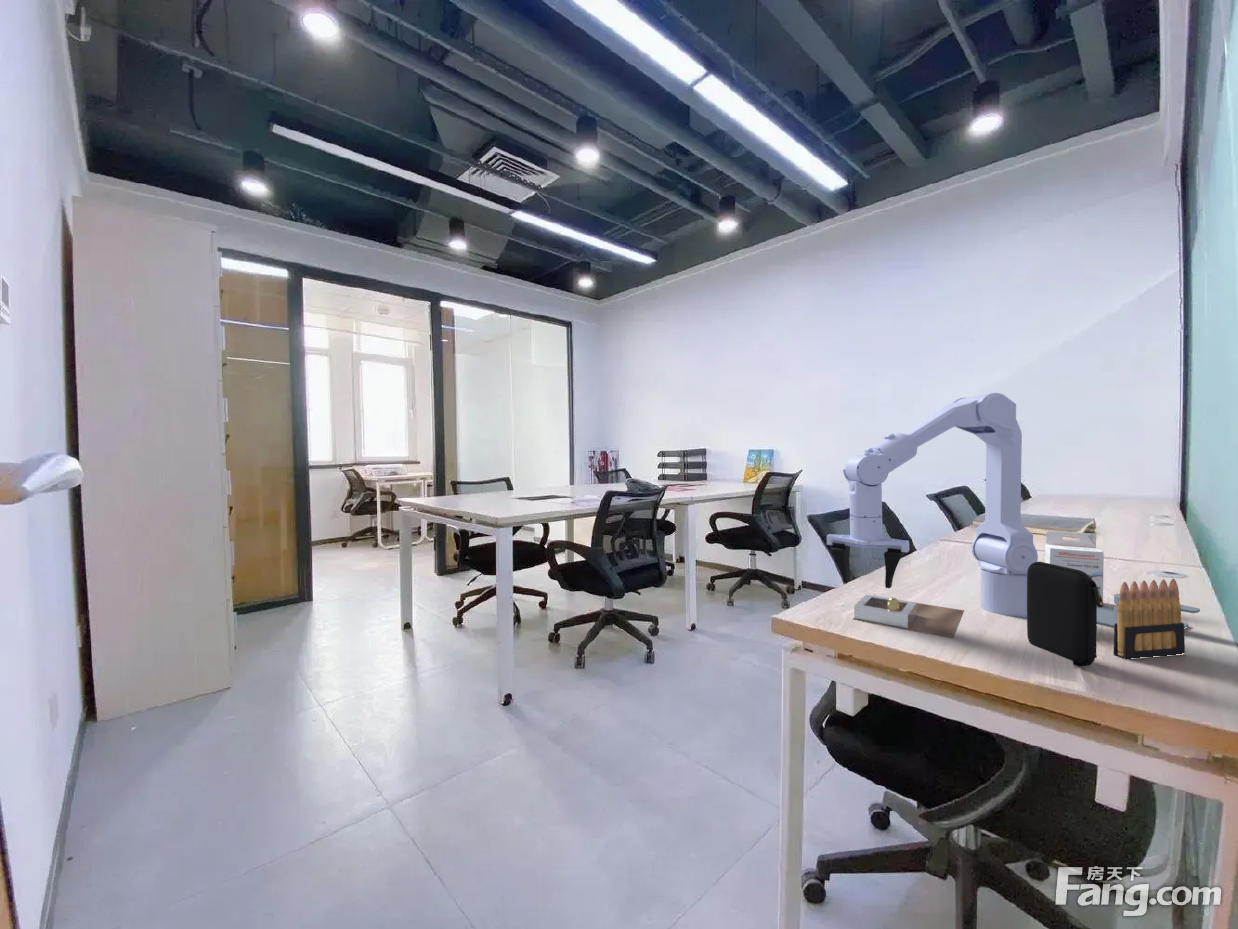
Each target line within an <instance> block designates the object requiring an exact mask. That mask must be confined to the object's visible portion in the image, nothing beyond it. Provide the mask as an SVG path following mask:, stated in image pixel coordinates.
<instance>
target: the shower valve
mask: <svg viewBox="0 0 1238 929" xmlns="http://www.w3.org/2000/svg"><path fill="white" fill-rule="evenodd" d="M1119 597H1120V593H1115V594H1113V603H1114V604H1115V606H1114V607H1111V606H1107V605H1103V607H1101V608H1099V607H1098V606H1097V625H1098V626H1103V627H1106V628H1112V629H1114V624H1115V623H1117V609H1118V605H1119ZM1180 605H1181V612H1183V613H1189V614H1198V613H1200V612H1201V608H1199V607H1196V606H1195V607H1194V606H1191V605H1184V604H1181V603H1180ZM1181 623H1184V628H1185V627H1188V626H1189V623H1187V622H1183V621H1181ZM1188 628H1189V627H1188Z"/></svg>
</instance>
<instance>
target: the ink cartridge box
mask: <svg viewBox="0 0 1238 929" xmlns="http://www.w3.org/2000/svg"><path fill="white" fill-rule="evenodd" d="M1045 537H1046V538H1045V540H1046V543H1045V544H1044V562H1045V563H1049V564H1054V565H1058V566H1063V567H1068V568H1072V569H1077V570H1081V571H1083V572H1085V573H1086V574H1088V575H1089V576H1090V577H1091V578H1092V580H1093V581H1094V582H1095V583H1096V586H1097V587H1098V588H1099V591H1100V595H1101V597H1102V600H1103V601H1104V563H1105V562H1104V559H1105V558H1104V556H1105V555H1104V551H1103V550H1101V549H1100V548H1098V547H1097V546H1096V545H1097V534H1096V533H1093V532H1091V533H1089V532H1074V531H1057V530H1056V531H1055V530H1054V531H1053V530H1047V531H1046V536H1045ZM1069 537H1073V538H1074V540H1072V539H1063V538H1069ZM1075 538H1078V539H1079V540H1075Z"/></svg>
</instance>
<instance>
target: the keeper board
mask: <svg viewBox="0 0 1238 929" xmlns="http://www.w3.org/2000/svg"><path fill="white" fill-rule="evenodd" d="M916 603H917V616H916V617H915V619H914V620H913V622H912V623H911V625H910V626H909V628H908V629H906V628H901V627H896V626H891V625H885V624H880V623H875V622H870V621H864V620H859V619H854V617H853V618H852V620H854V621H859V622H860V621H861V622H864V623H870V624H874V625H879V626H885V627H890V628H896V629H900V630H905V631H910V632H911V631H912V632H916V633H922V634H926V635H933V636H938V637H943V638H947V639H948V638H949V639H954V638H955V635H956V632H957V629H958V626H959V624H960V621H961V619H962V616H963V614H964V612H965V610H963V609H956V608H951V607H944V606H939V605H933V604H928V603H927V604H926V603H920V602H916Z"/></svg>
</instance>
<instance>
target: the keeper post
mask: <svg viewBox="0 0 1238 929" xmlns="http://www.w3.org/2000/svg"><path fill="white" fill-rule="evenodd" d="M888 598H889V599H888V601H887V609H888V610H893V611H899V601H898V600H899V599H898V598H896V597H888ZM897 599H898V600H897Z"/></svg>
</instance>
